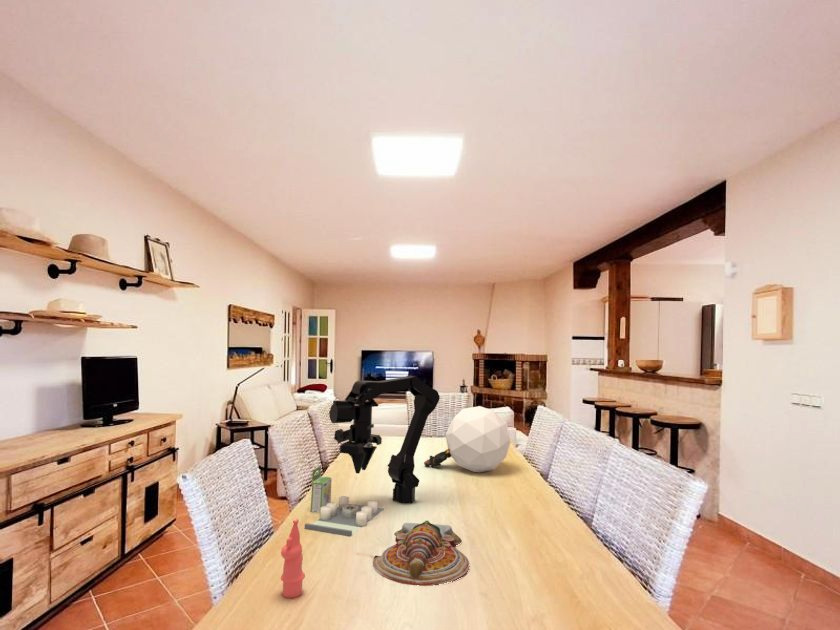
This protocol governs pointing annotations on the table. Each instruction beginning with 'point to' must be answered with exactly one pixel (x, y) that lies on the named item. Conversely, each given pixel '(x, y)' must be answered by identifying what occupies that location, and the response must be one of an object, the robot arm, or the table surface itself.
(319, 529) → the slate board
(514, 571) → the table surface
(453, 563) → the decorative mask
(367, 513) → the spacers
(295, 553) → the figurine
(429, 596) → the table surface
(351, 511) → the star tealight holder
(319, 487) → the ink box
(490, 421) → the light fixture
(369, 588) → the table surface
